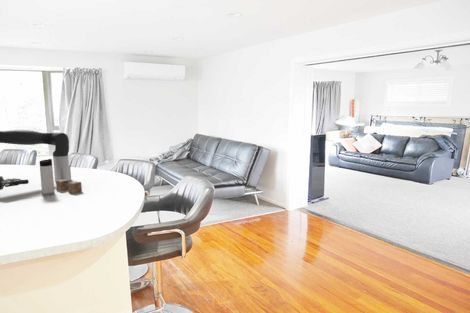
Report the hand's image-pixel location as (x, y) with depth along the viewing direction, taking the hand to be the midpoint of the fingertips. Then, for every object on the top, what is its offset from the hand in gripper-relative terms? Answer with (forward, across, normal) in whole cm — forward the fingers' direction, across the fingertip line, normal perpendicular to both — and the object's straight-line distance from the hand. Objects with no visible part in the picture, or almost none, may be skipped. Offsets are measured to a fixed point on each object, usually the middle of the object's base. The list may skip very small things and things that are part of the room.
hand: (28, 181), depth 183 cm
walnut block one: (+24, 0, +8) cm, 25 cm away
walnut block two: (+16, +8, +8) cm, 20 cm away
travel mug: (+10, 0, +8) cm, 13 cm away
